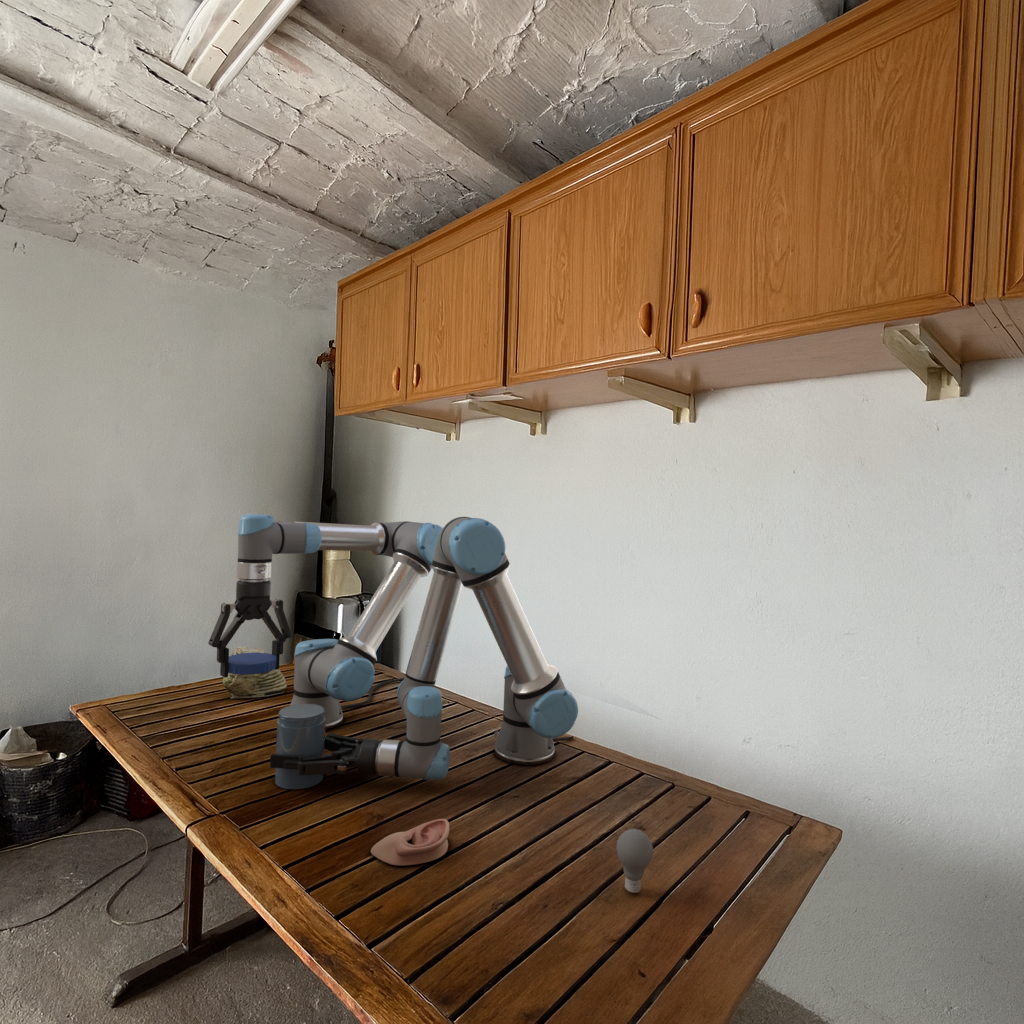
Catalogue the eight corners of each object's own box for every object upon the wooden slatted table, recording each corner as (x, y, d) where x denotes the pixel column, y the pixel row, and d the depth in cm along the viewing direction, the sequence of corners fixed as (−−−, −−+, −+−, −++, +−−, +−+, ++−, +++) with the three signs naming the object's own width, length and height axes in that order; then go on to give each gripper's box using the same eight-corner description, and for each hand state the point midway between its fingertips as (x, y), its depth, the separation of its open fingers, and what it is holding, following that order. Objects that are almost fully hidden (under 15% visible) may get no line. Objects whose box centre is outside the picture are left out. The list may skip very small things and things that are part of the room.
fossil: (218, 695, 195) (220, 647, 195) (278, 685, 208) (279, 640, 207) (228, 703, 189) (230, 653, 188) (289, 692, 201) (290, 645, 201)
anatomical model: (363, 838, 111) (389, 807, 122) (362, 860, 111) (388, 827, 122) (436, 849, 108) (455, 817, 119) (435, 872, 108) (454, 838, 119)
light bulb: (610, 879, 108) (613, 822, 108) (644, 879, 109) (647, 822, 109) (619, 902, 102) (622, 840, 102) (655, 901, 103) (658, 840, 103)
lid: (212, 670, 146) (212, 660, 146) (250, 659, 157) (250, 650, 157) (250, 677, 142) (251, 667, 142) (286, 666, 153) (287, 656, 152)
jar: (300, 765, 149) (302, 700, 148) (333, 775, 144) (335, 708, 144) (264, 781, 140) (267, 712, 139) (298, 793, 135) (301, 721, 134)
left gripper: (206, 584, 138) (202, 684, 138) (308, 579, 155) (305, 667, 155) (195, 580, 143) (191, 676, 144) (294, 575, 160) (291, 661, 160)
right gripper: (363, 798, 129) (257, 790, 131) (391, 753, 152) (301, 747, 153) (364, 761, 129) (259, 754, 130) (393, 722, 152) (303, 716, 153)
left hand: (250, 672), depth 149 cm, fingers closed on lid, 11 cm apart
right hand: (282, 750), depth 142 cm, fingers closed on jar, 10 cm apart
